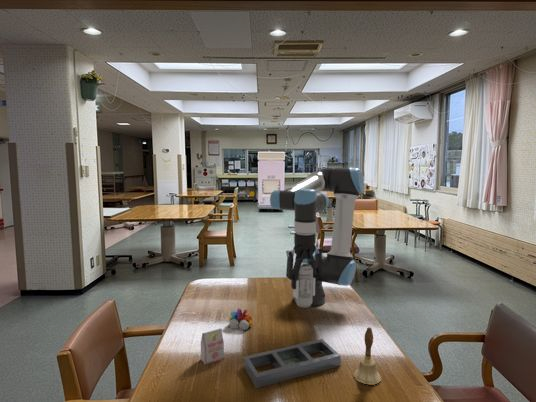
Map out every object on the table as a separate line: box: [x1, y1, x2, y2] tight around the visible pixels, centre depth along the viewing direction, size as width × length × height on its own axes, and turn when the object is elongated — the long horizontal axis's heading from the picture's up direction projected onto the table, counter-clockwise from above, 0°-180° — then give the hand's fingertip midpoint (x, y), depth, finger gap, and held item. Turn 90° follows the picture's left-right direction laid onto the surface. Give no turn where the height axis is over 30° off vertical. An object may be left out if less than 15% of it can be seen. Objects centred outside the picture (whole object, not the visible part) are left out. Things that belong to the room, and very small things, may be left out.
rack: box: [242, 338, 342, 389], centre depth 112 cm, size 30×12×4 cm, turn 113°
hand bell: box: [353, 326, 382, 385], centre depth 106 cm, size 8×8×16 cm
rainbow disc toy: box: [228, 308, 253, 331], centre depth 139 cm, size 8×10×7 cm
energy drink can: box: [295, 262, 313, 309], centre depth 124 cm, size 6×6×15 cm
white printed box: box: [200, 328, 225, 366], centre depth 115 cm, size 4×7×10 cm, turn 121°
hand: (304, 295), depth 124 cm, fingers closed on energy drink can, 6 cm apart
